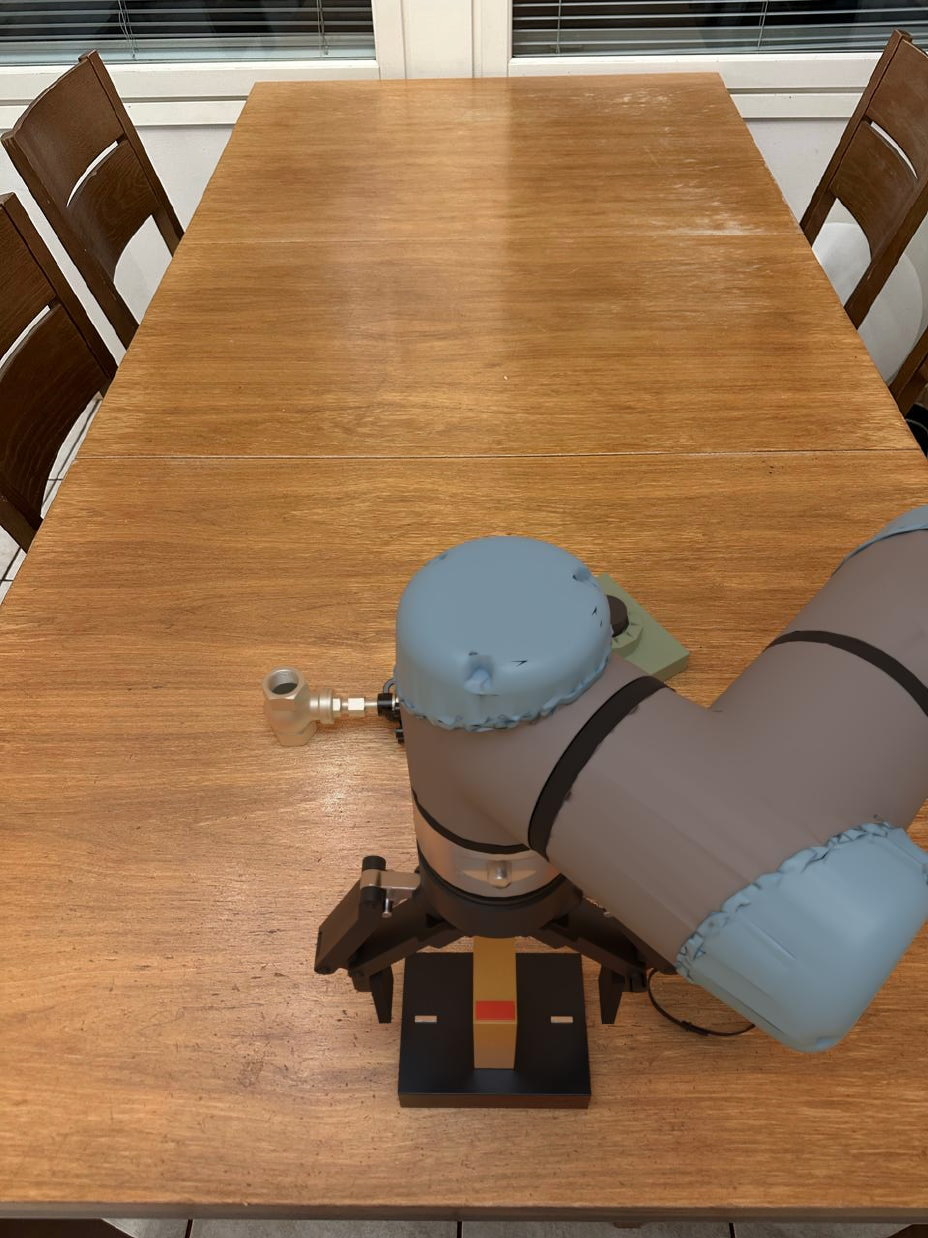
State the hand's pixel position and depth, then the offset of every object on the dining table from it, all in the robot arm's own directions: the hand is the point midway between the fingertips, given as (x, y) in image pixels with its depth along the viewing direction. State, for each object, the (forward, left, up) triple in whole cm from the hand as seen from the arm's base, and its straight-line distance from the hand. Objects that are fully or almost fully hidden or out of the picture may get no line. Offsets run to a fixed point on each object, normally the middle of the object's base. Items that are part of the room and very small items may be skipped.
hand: (495, 1002), depth 59 cm
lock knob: (0, 0, -3) cm, 3 cm away
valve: (+28, -3, -7) cm, 29 cm away
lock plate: (0, 0, -6) cm, 6 cm away
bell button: (+23, -27, -3) cm, 36 cm away
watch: (-6, -13, -7) cm, 16 cm away
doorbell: (+23, -27, -6) cm, 36 cm away
